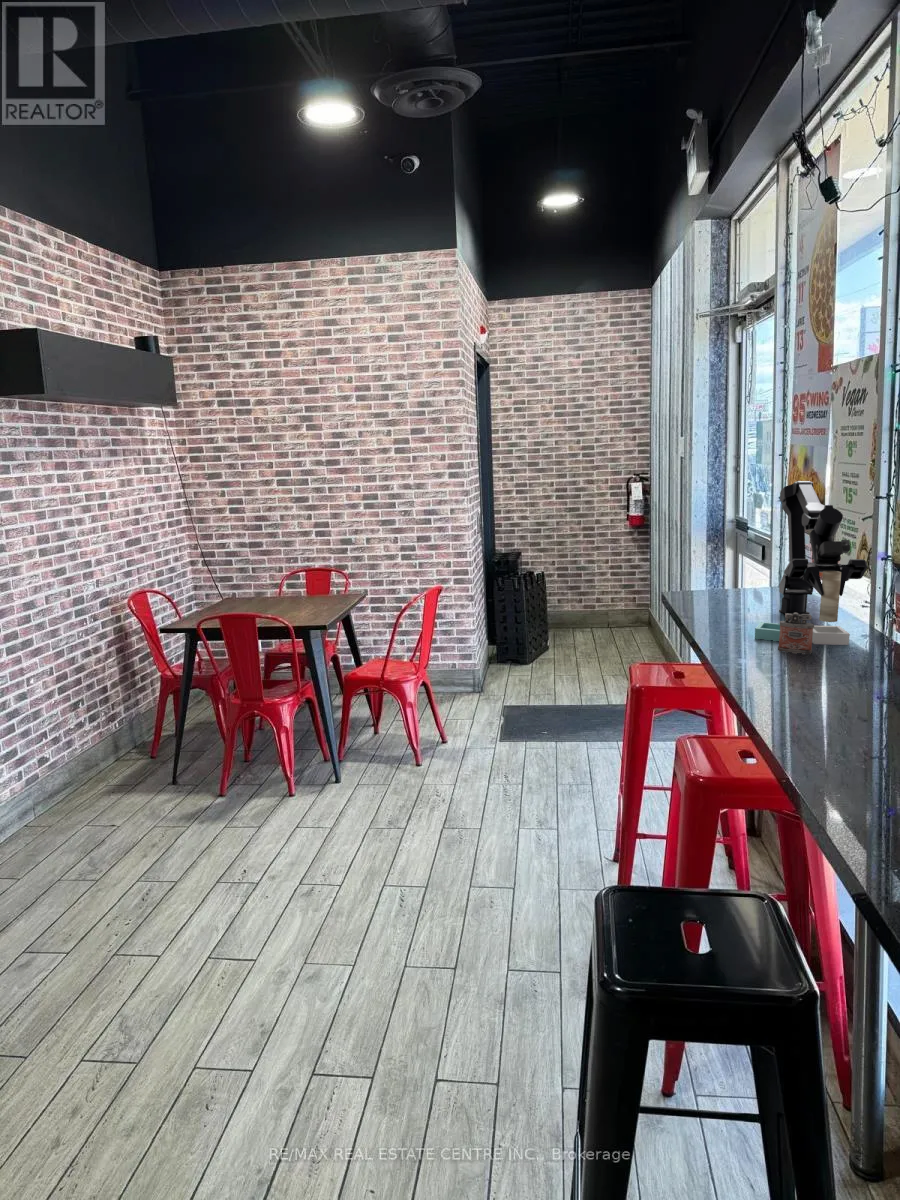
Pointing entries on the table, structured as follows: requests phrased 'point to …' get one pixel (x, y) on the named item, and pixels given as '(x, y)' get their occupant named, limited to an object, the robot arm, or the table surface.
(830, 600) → the peg
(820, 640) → the grey socket
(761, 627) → the teal socket
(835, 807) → the table surface
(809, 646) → the lighter
